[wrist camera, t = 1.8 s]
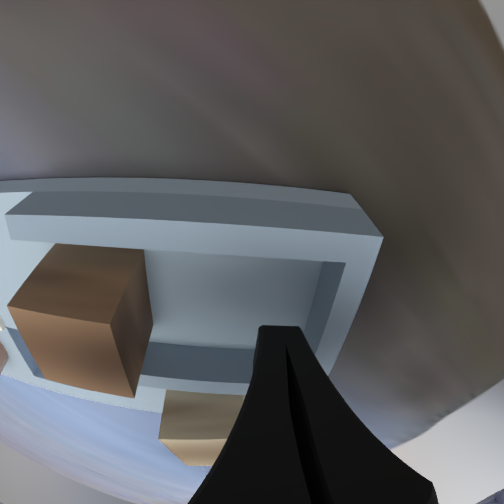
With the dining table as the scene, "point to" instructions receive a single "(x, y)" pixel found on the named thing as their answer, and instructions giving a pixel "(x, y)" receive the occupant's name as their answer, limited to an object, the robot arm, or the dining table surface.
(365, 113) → the dining table surface
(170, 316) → the slate board with cubby
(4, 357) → the peach rounded cylinder
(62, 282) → the walnut block
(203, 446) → the beech block
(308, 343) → the robot arm
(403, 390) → the dining table surface
